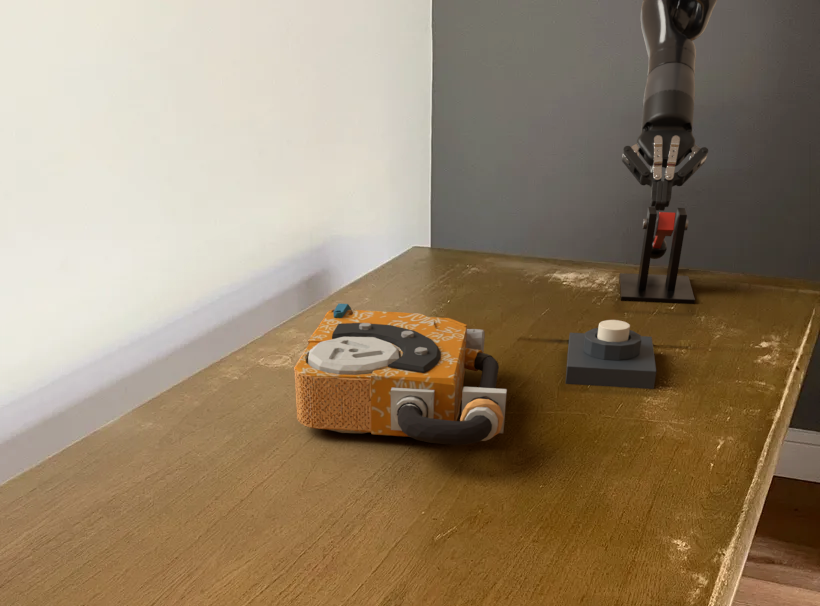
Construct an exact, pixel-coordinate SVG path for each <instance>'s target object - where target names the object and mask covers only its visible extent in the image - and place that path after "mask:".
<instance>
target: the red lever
mask: <svg viewBox="0 0 820 606" xmlns="http://www.w3.org/2000/svg"><path fill="white" fill-rule="evenodd" d="M676 214H677V212H669V211H668V212H667V211H665V212H664V211H659V213H658V214H657V218H656V224H655V232H654V238H653V245H652V251H651V258H650V260H651V259H652V260H658V259H661V258H663V256H664V255H665V254H666V252H667V250H668V244H667V241H666V239H665V238H666V237H672V235H673V233H674V227H675V221H676Z"/></svg>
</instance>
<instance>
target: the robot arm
mask: <svg viewBox="0 0 820 606" xmlns="http://www.w3.org/2000/svg"><path fill="white" fill-rule="evenodd" d="M717 2H718V0H642V4H641V7H640V27H641V32H642V33H641V34H642V36H643V42H644V45H645V50H646V54H647V57H648V58H647V59H648V60H647V61H648V62H647V74H646V83H645V88H644V92H643V100H642V105H641V106H642V113H641V124H640V126H641V127H640V135H639V136H638V137H637V140H636V143H635V144H633V145H632V146H630V145H625V146H624V147H623V150H622V156H621V162H622V163H623V164H624V166H625V167H626V168H627V169H628V171H629V172H630V173H631V175H633V177H634V178H635V179H636V181H637V182H638V183H639V184H640V185H641V186H646V185H647V186H649V187H650V188H651V190H650V200H649V201H650V207H655V208H656V212H657V211H659V212H664V211H665V210H666V208H669V206H670V204H671V201H672V192H673V187H676V186H677V187H682V186H683V185H684V184H685V183H686V182H688V181H689V179H690V178H691V177H692V176H693V175H694V174H695V173H696V172H697V171H698V170H700V168H701V167H702V166H704V164H705V163H706V159H707V158H708V153H709V148H708V147H706V146H703V147H700V146H698V145H697V144H696V138H695V137H694V135H693V126H694V110H695V101H696V99H695V97H696V82H695V75H696V62H697V61H696V60H697V48H696V45H695V42H694V41H695V40H697V39H698V38H699V37H701V36H702V35H703V33H705V30H706V29H707V26H708V24H709V22H710V19H711V16H712V13H713V11H714V8H715V6H716V4H717ZM640 156H641V157H640ZM687 156H689V159H688V161H687V162H686V163H685V164H684V165H682V167H681V168H680V169H678V171H677V172H675V171H676V167H678V166H679V165H681V163H683V161H684V160H685V159H686V158H687ZM641 158H642V159H643V160H644V161H643V160H642V159H641ZM644 162H646V163H644ZM646 164H647V165H648V166H650V168H648V166H647V165H646ZM663 169H665V170H664V174H663ZM663 175H664V176H663ZM662 177H663V180H662Z"/></svg>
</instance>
